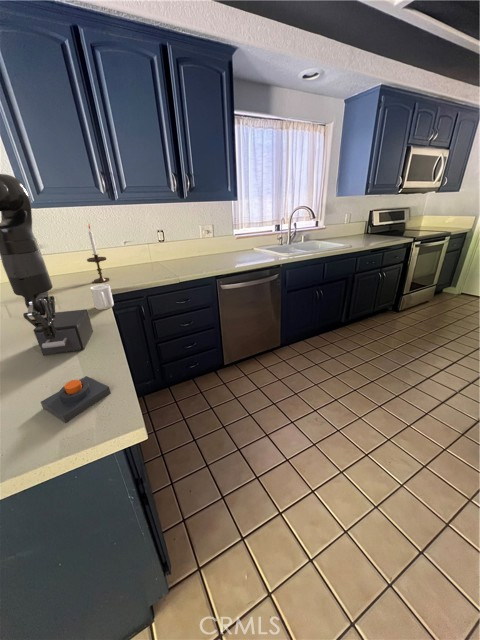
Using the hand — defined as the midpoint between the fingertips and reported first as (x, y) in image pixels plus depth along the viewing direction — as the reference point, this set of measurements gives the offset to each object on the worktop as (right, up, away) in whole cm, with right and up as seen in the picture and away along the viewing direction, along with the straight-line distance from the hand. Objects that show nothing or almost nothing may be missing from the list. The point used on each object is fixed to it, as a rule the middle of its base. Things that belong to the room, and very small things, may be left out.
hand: (52, 337), depth 68 cm
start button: (+6, -13, -1) cm, 15 cm away
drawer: (-13, -4, +25) cm, 28 cm away
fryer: (-14, -4, +29) cm, 32 cm away
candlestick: (-41, +30, +102) cm, 114 cm away
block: (+6, -16, +1) cm, 18 cm away
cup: (-17, +10, +60) cm, 63 cm away
